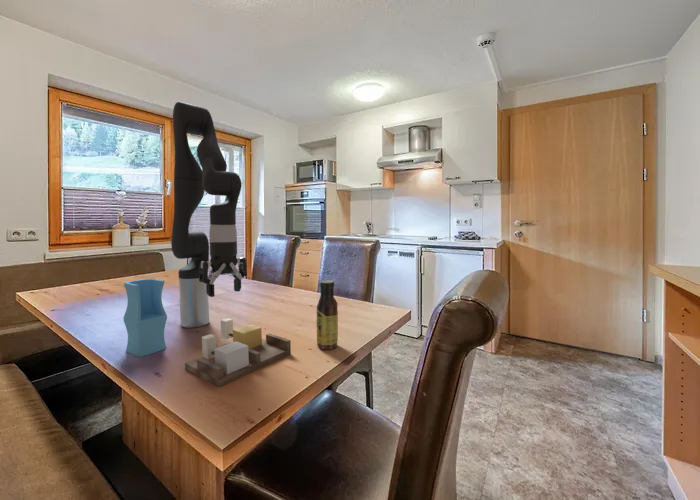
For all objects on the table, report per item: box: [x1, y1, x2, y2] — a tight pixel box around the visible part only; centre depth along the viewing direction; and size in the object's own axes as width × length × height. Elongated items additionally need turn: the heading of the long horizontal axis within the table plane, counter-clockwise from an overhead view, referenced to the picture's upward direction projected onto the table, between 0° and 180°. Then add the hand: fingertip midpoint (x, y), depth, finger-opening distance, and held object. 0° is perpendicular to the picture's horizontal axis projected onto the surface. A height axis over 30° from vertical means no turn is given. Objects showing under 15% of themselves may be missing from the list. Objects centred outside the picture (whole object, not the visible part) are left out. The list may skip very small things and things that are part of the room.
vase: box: [123, 278, 168, 357], centre depth 92 cm, size 8×8×20 cm
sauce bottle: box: [316, 279, 339, 351], centre depth 94 cm, size 7×6×20 cm
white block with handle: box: [201, 333, 249, 374], centre depth 81 cm, size 14×6×6 cm, turn 54°
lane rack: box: [184, 333, 292, 388], centre depth 85 cm, size 15×22×4 cm
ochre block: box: [220, 317, 263, 349], centre depth 94 cm, size 14×6×6 cm, turn 54°
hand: (224, 293), depth 97 cm, fingers open, 8 cm apart
